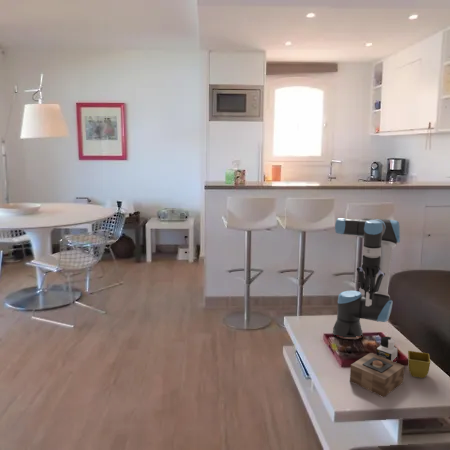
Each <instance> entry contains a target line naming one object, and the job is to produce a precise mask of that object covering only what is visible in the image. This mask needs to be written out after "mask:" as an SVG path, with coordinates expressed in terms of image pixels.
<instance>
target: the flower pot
mask: <svg viewBox="0 0 450 450" xmlns="http://www.w3.org/2000/svg"><path fill="white" fill-rule="evenodd" d="M407 351H408V352H407V354H408V355H407V357H408V358H407V359H408V360H407V361H408V370H409V374H410V375H411V377H413V378H414V377H415V378H421V379H424V378H425V377H427V376H428V373H429V370H430V365H431V359H430V357H431V356H430V353H428V352H427V353H426V352H419V351H412V350H407Z"/></svg>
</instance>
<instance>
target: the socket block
mask: <svg viewBox="0 0 450 450" xmlns="http://www.w3.org/2000/svg"><path fill="white" fill-rule="evenodd" d="M375 360H378V361H381V362H382V363H383V366H382V368H380V369H379V368H377V367H375V366H373V361H375ZM349 373H350V374H349V382H350V383H352V384H355V385H356V386H359V387H360V388H363V389H365V390H367V391H369V392H371V393H374V394H376V395H378V396H380V397H382V398H385V397H386V396H388V395H389V394H390V393H391V392H393V391H394V390H396V389H397V388H398V387H399V386H401V385H402V384H404V375H405V365H403V364H401V363H398V362H397V361H396V362H393V361H391V360H388V359H386V358H383V357H381V356H378V355H376V353H373V352H369V353H367V354H366V355H364V356H363V357H361V358H359V359H357V360H356V361H355V362H353V363H351V364H350V372H349Z"/></svg>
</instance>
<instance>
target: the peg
mask: <svg viewBox="0 0 450 450" xmlns="http://www.w3.org/2000/svg"><path fill="white" fill-rule="evenodd" d="M373 366H375V367H377V368H379V369H380V368H382V366H383V363H382V362H381V361H378V360H375V361H373Z"/></svg>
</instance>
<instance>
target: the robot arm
mask: <svg viewBox="0 0 450 450" xmlns="http://www.w3.org/2000/svg"><path fill="white" fill-rule="evenodd" d="M400 227H401V226H400V221H398V220H395V219H386V218H385V219H383V218H373V217H372V218H371V217H368V218H367V217H365V218H345V217H338V218H337V219H336V220H335V223H334V231H335V233H336V234H337V235H338V234H339V235H346V236H355V237H356V238H357V237H358V238H361V239H363V247H362V248H363V249H362V254H363V255H362V260H361V263H362V264H361V266H359V267H357V268H356V271H357V272H358V278H359V285H360V289H361V290H363V291H364V295H362V292H360V291H359V290H346V291H345V290H344V291H341V292H340V293H339V294H338V295H337V296H338V297H337V313H336V321H335V323H334V325H333V328H332V334H333V335H334V336H335V335H339V336H343V337H356V336H361V335H362V336H363V329H362V325H361V321H360V320H361V319H362V320H368V321H372V322H373V321H374V322H380V323H387V322H388V321H389V319H390V315H391V313H392V308H393V301H394V300H392V299H391V295H389V293H388V292H389V284H390V275H391V267H392V261H393V260H392V258H393V251H394V250H393V249H394V248H396V247H397V244H398V243H400V242H401V230H400V229H401V228H400Z"/></svg>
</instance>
